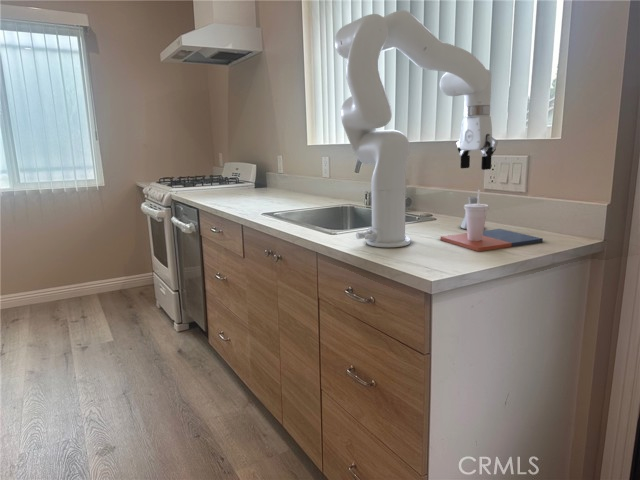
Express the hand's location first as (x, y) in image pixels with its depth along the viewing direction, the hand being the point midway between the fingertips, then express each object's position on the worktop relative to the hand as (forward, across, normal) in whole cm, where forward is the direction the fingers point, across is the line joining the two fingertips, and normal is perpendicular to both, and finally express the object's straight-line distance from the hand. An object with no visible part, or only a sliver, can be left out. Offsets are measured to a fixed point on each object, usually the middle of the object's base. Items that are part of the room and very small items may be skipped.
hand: (475, 168), depth 137 cm
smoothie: (+18, +17, -14) cm, 29 cm away
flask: (+19, 0, -1) cm, 19 cm away
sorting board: (+19, +17, -9) cm, 27 cm away
